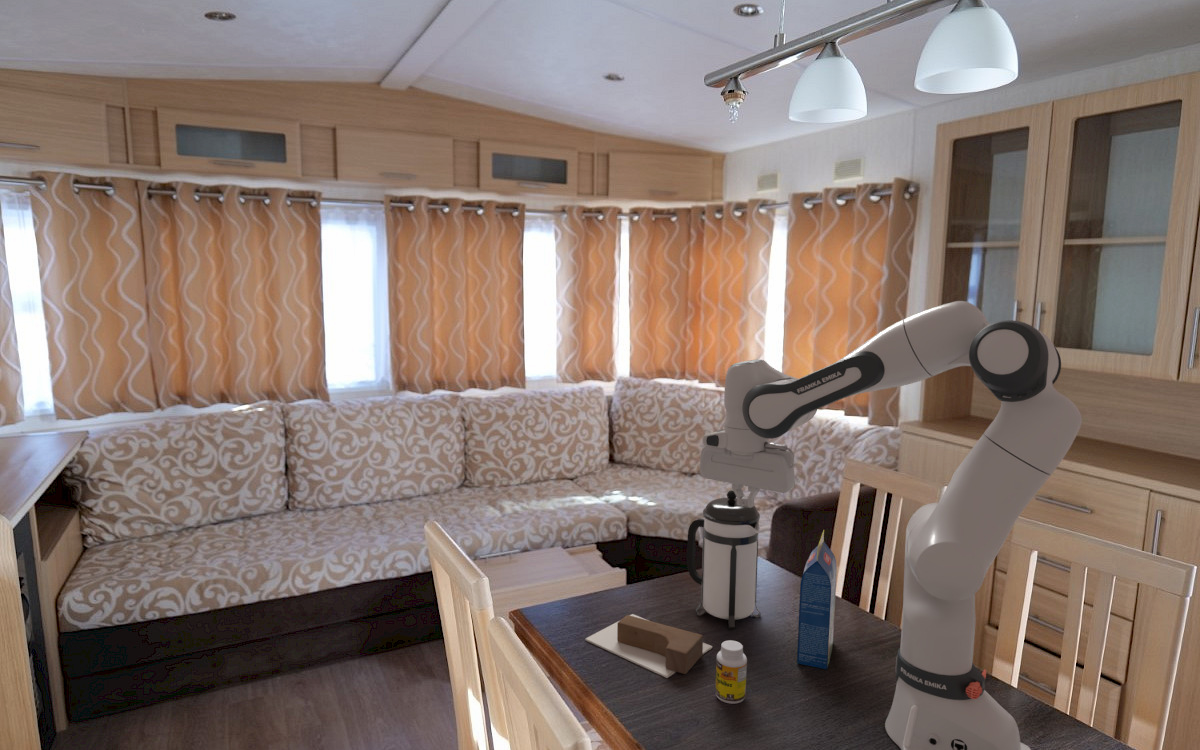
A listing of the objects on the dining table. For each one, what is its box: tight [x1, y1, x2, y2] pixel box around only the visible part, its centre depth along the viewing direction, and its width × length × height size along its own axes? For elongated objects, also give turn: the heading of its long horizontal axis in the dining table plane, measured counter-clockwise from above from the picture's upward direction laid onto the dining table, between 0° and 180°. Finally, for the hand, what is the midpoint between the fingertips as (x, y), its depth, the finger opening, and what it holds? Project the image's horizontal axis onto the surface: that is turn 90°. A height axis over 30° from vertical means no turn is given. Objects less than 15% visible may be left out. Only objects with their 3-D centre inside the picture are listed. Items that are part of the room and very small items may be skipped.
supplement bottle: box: [715, 639, 748, 705], centre depth 133 cm, size 6×6×10 cm
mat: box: [584, 613, 713, 679], centre depth 153 cm, size 22×16×1 cm
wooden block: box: [617, 614, 704, 675], centre depth 148 cm, size 9×4×18 cm
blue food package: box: [796, 529, 838, 670], centre depth 148 cm, size 6×12×25 cm, turn 157°
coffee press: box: [686, 489, 762, 631], centre depth 166 cm, size 17×16×30 cm
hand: (745, 506), depth 146 cm, fingers closed
